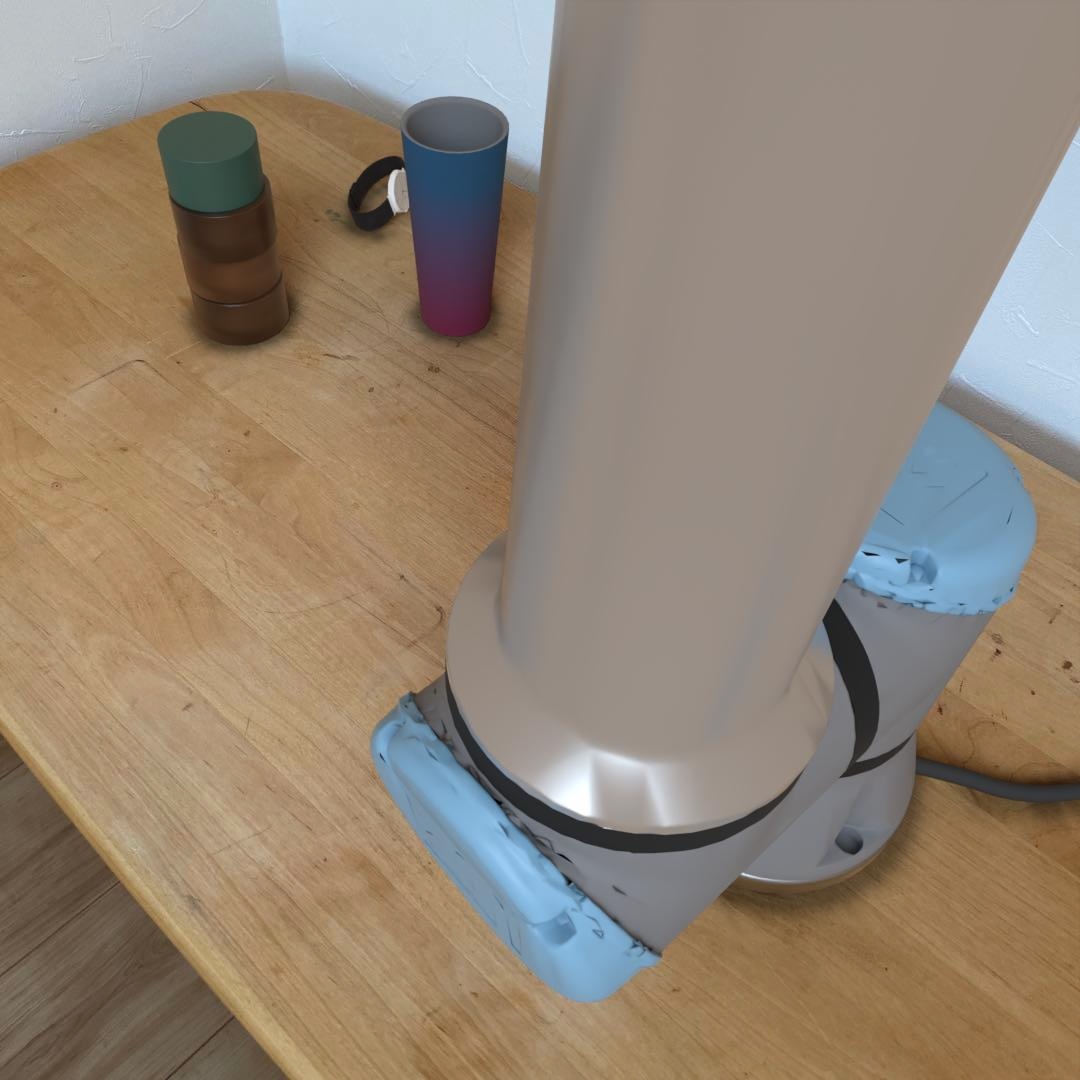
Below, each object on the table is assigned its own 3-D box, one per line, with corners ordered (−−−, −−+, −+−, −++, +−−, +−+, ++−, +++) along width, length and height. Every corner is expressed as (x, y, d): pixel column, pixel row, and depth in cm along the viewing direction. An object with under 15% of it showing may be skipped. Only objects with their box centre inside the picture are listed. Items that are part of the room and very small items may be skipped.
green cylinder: (280, 172, 70) (273, 122, 67) (236, 221, 66) (227, 170, 64) (198, 152, 71) (188, 102, 68) (150, 199, 67) (137, 149, 64)
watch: (409, 141, 85) (433, 179, 87) (364, 157, 87) (388, 193, 90) (377, 201, 81) (402, 238, 83) (330, 215, 83) (356, 251, 86)
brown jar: (307, 300, 78) (289, 172, 70) (264, 356, 74) (240, 226, 66) (224, 278, 79) (197, 149, 71) (177, 332, 75) (143, 201, 67)
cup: (435, 355, 75) (430, 163, 64) (393, 301, 79) (382, 109, 67) (518, 328, 78) (529, 137, 66) (474, 276, 81) (477, 87, 70)
